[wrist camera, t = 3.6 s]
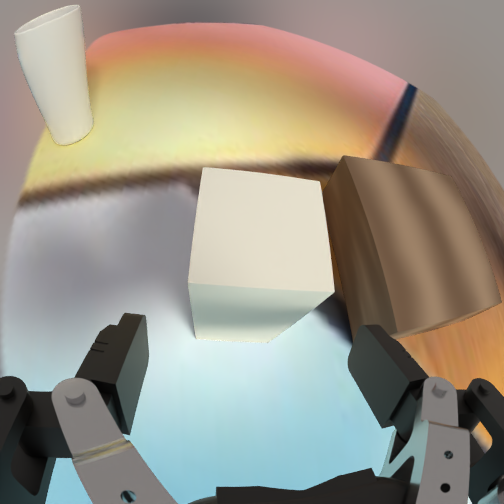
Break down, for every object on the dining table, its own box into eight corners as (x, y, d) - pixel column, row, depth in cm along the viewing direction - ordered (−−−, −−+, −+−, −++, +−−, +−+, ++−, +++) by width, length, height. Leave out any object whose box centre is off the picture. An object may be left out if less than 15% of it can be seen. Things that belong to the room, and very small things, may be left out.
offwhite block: (267, 277, 22) (319, 181, 12) (268, 342, 19) (334, 292, 10) (200, 272, 21) (203, 167, 11) (196, 339, 19) (187, 282, 9)
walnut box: (422, 207, 29) (451, 176, 24) (460, 321, 23) (501, 302, 18) (318, 199, 26) (343, 155, 21) (352, 349, 20) (397, 332, 15)
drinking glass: (79, 109, 28) (59, 6, 14) (112, 122, 27) (95, 2, 14) (39, 142, 24) (3, 36, 11) (68, 159, 24) (29, 32, 11)
